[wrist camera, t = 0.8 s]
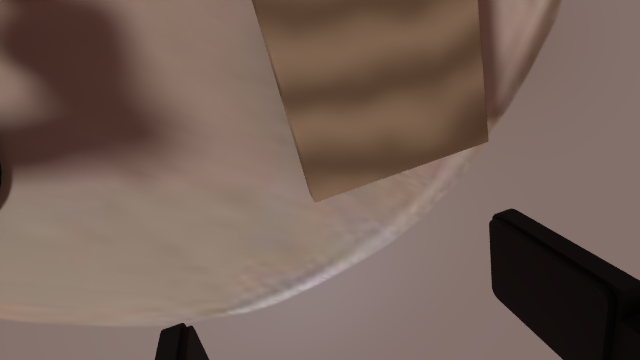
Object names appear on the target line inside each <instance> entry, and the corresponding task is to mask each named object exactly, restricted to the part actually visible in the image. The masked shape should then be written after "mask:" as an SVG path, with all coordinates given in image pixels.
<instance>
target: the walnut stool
mask: <svg viewBox="0 0 640 360" xmlns="http://www.w3.org/2000/svg"><path fill="white" fill-rule="evenodd" d="M252 3H253V6H254V9H255V13H256V16H257V19H258V23H259V26H260V29H261V32H262V36H263V39H264V42H265V46H266V49H267V52H268V56H269V59H270V62H271V66H272V69H273V72H274V76H275V79H276V82H277V86H278V89H279V92H280V96H281V99H282V102H283V106H284V109H285V112H286V116H287V119H288V122H289V126H290V129H291V132H292V135H293V139H294V142H295V145H296V149H297V152H298V155H299V159H300V162H301V165H302V169H303V172H304V175H305V179H306V182H307V185H308V189H309V192H310V195H311V197H312V198H313V200H314V202H318V201H321V200H324V199H326V198H329V197H332V196H335V195H338V194H341V193H343V192H346V191H349V190H352V189H355V188H358V187H360V186H363V185H366V184H369V183H372V182H375V181H378V180H380V179H383V178H386V177H389V176H392V175H395V174H397V173H400V172H403V171H406V170H409V169H412V168H414V167H417V166H420V165H423V164H426V163H429V162H432V161H434V160H437V159H440V158H443V157H446V156H449V155H451V154H454V153H457V152H460V151H463V150H466V149H468V148H471V147H474V146H477V145H480V144H483V143H486V142H488V129H487V116H486V103H485V90H484V77H483V64H482V51H481V38H480V25H479V12H478V0H252Z"/></svg>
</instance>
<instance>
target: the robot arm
mask: <svg viewBox="0 0 640 360" xmlns="http://www.w3.org/2000/svg"><path fill="white" fill-rule="evenodd" d="M489 232H490V254H491V275H492V289H493V292H494V294H495V296H496V297H497V298H498V299H499V300H500V301H501V302H502V303H503V304H504V305H505V306H506V307H507V308H508V309H509V310H510V311H512V312H513V313H514V314H515V315H516V316H517V317H518V318H519V319H520V320H521V321H522V322H523V323H524V324H525V325H526V326H528V327H529V328H530V329H531V330H532V331H533V332H534V333H535V334H536V335H537V336H538V337H539V338H541V339H542V340H543V341H544V342H545V343H546V344H547V345H548V346H549V347H550V348H551V349H552V350H553V351H554V352H555V353H557V354H558V355H559V356H560V357H561V358H562V359H563V360H640V280H638V279H636V278H634V277H632V276H631V275H629V274H627V273H626V272H624V271H622V270H620V269H619V268H617V267H615V266H613V265H612V264H609V263H608V262H606V261H605V260H603V259H601V258H599V257H598V256H596V255H594V254H592V253H591V252H589V251H587V250H585V249H584V248H582V247H580V246H578V245H577V244H575V243H573V242H571V241H570V240H568V239H566V238H564V237H563V236H561V235H559V234H557V233H556V232H554V231H552V230H550V229H548V228H547V227H545V226H543V225H542V224H540V223H538V222H536V221H535V220H533V219H531V218H529V217H528V216H526V215H524V214H522V213H521V212H519V211H517V210H515V209H508V210H505V211H503V212H500V213H497V214H495V215H494V216H493V218H492V220H491V221H490V223H489ZM155 360H209V359H208V356H207V354H206V352H205V350H204V348H203V346H202V344H201V342H200V340H199V337H198V335H197V333H196V331H195V329H194V327H193V326H188V327H186V325H185V324H184V323H181V324H178V325H175V326H172V327H169V328H166V329H163V330H162V331H161V333H160V338H159V342H158V347H157V352H156V357H155Z"/></svg>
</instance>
